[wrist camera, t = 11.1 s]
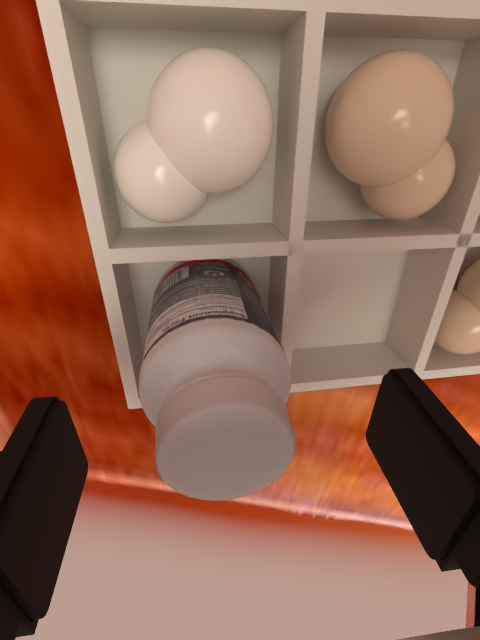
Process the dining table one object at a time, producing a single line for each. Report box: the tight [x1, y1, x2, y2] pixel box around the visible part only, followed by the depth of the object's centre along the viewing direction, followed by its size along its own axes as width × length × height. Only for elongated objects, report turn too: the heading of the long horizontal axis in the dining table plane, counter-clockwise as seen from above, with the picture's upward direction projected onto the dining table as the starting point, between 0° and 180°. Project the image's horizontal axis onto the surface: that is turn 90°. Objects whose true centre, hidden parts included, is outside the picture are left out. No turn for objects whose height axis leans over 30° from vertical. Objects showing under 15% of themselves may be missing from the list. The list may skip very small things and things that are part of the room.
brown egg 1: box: [325, 49, 455, 220], centre depth 13 cm, size 6×4×4 cm
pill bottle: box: [139, 259, 295, 500], centre depth 14 cm, size 5×5×10 cm
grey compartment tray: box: [36, 0, 480, 409], centre depth 16 cm, size 23×16×4 cm
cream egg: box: [113, 47, 274, 223], centre depth 12 cm, size 6×4×4 cm
